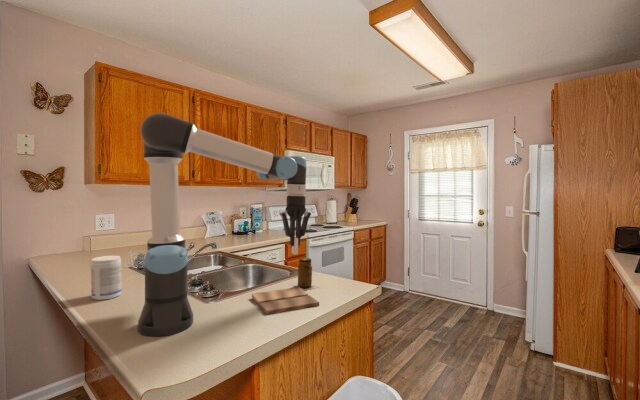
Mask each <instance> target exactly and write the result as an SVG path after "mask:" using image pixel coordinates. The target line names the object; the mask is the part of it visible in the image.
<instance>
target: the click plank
mask: <svg viewBox="0 0 640 400" xmlns="http://www.w3.org/2000/svg"><path fill="white" fill-rule="evenodd" d="M302 296H309V294H308V293H307V291H306V290H303V289H301V288H300V287H290V288H284V289H283V288H282V289H277V290H269V291H260V292H255V293H254V292H253V293H251V297H252V299H253V300H254V301H255V303H256V305H258V306H259V303H264V302H270V301H277V300H283V299H289V298H296V297H302Z"/></svg>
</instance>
